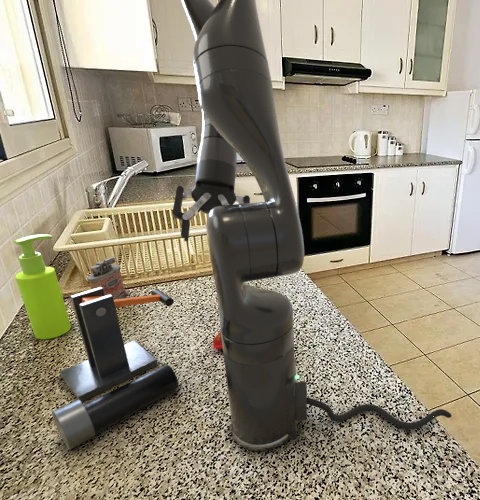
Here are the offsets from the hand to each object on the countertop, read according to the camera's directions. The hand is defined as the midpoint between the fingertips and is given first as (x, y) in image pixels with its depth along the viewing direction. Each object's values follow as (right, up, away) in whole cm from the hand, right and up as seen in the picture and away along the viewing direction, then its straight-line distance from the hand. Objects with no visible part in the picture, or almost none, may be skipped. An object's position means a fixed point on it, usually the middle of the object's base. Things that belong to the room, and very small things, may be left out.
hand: (209, 243), depth 73 cm
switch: (-11, -11, -9) cm, 18 cm away
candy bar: (+5, -18, +4) cm, 19 cm away
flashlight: (-6, -26, -17) cm, 31 cm away
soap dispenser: (-33, -18, +3) cm, 37 cm away
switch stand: (-14, -23, -8) cm, 28 cm away
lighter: (-29, -13, +15) cm, 35 cm away
